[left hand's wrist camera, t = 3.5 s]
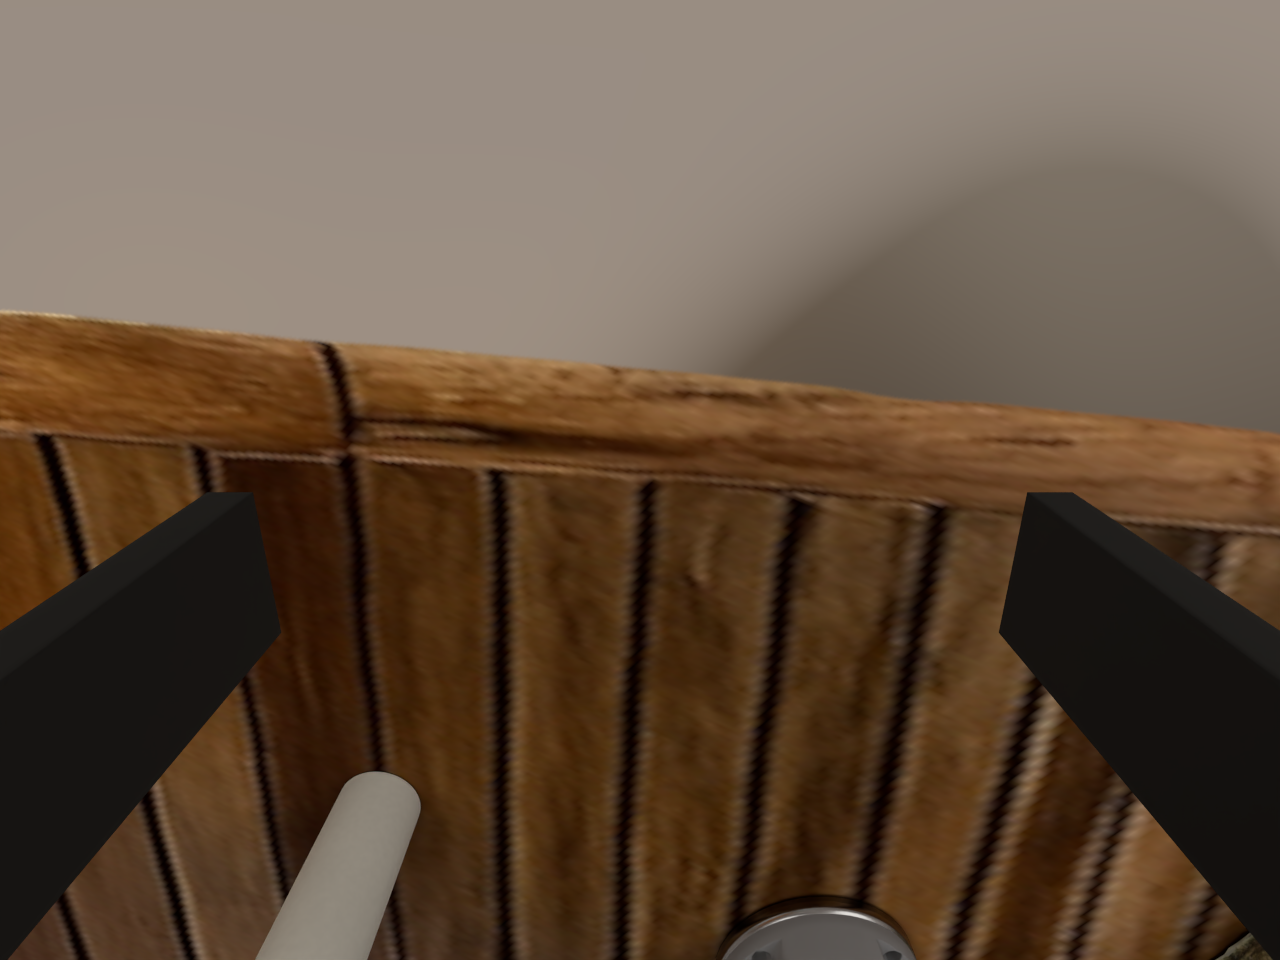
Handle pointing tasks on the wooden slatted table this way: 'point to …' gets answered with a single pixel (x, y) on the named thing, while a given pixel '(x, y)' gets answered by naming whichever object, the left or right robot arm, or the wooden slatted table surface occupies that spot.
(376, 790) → the bottle
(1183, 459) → the wooden slatted table surface
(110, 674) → the left robot arm
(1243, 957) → the fossil
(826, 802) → the wooden slatted table surface
